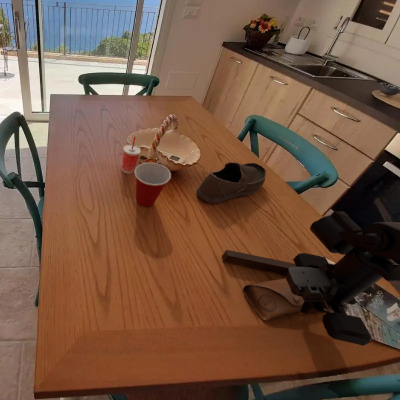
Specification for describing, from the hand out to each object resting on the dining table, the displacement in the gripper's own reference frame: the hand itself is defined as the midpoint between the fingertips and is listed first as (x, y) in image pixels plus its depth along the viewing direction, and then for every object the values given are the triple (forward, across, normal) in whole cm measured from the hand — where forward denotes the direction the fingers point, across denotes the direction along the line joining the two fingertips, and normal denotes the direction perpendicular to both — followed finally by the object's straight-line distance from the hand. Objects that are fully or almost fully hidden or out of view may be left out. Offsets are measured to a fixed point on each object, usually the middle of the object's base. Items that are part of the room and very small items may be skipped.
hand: (303, 312), depth 60 cm
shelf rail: (+1, -12, -2) cm, 12 cm away
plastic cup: (+1, -30, -37) cm, 47 cm away
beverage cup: (+1, -46, -44) cm, 63 cm away
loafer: (+1, -45, -7) cm, 45 cm away
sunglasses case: (+2, -4, -2) cm, 5 cm away
